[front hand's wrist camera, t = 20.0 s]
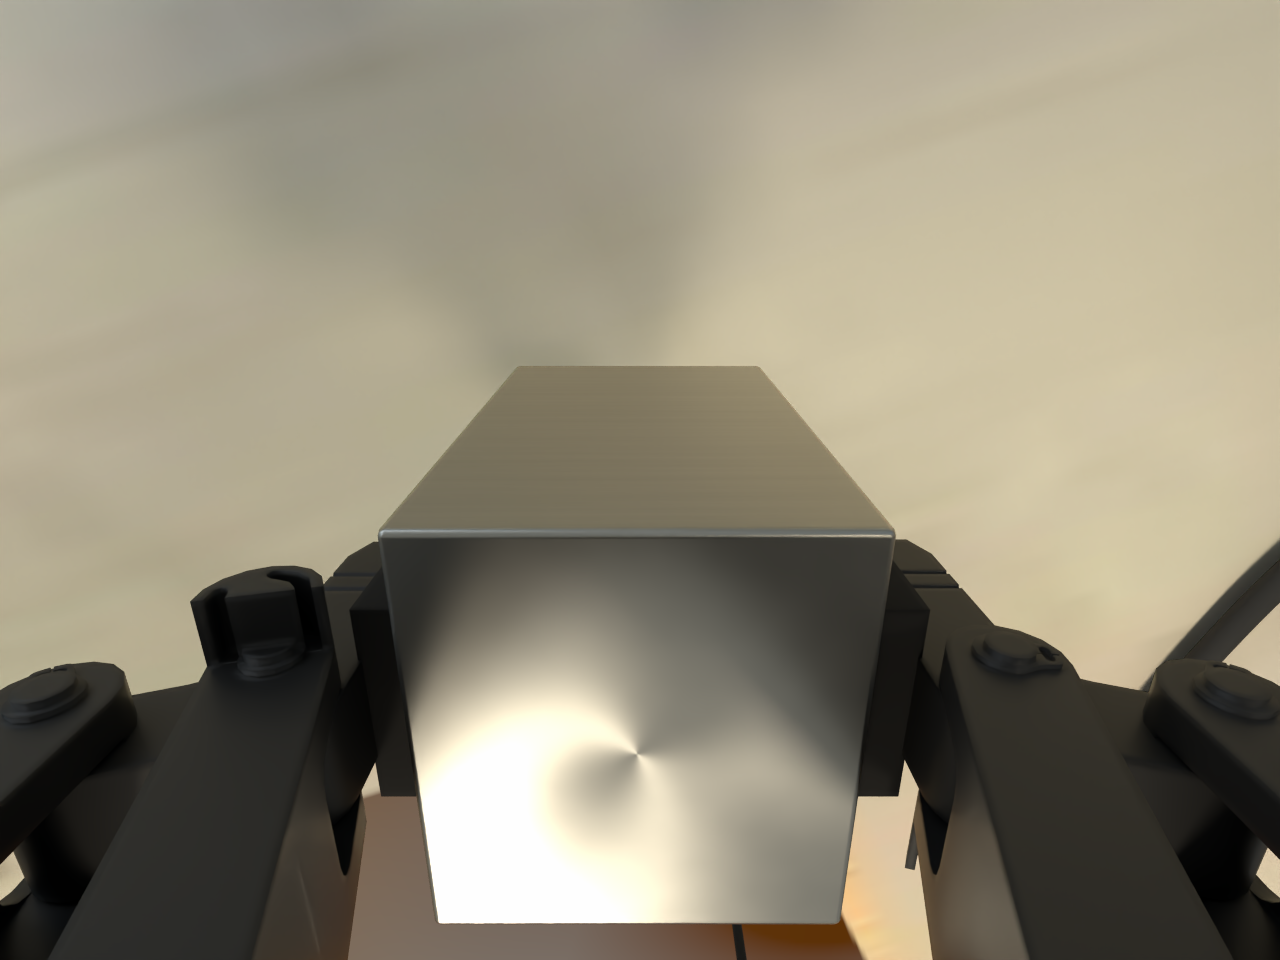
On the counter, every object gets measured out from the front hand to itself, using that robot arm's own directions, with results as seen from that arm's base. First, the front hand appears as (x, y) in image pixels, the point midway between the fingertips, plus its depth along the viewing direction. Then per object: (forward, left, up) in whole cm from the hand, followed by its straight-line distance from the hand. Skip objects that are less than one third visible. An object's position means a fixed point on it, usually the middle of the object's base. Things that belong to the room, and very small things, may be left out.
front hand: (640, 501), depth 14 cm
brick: (0, 0, -1) cm, 1 cm away
